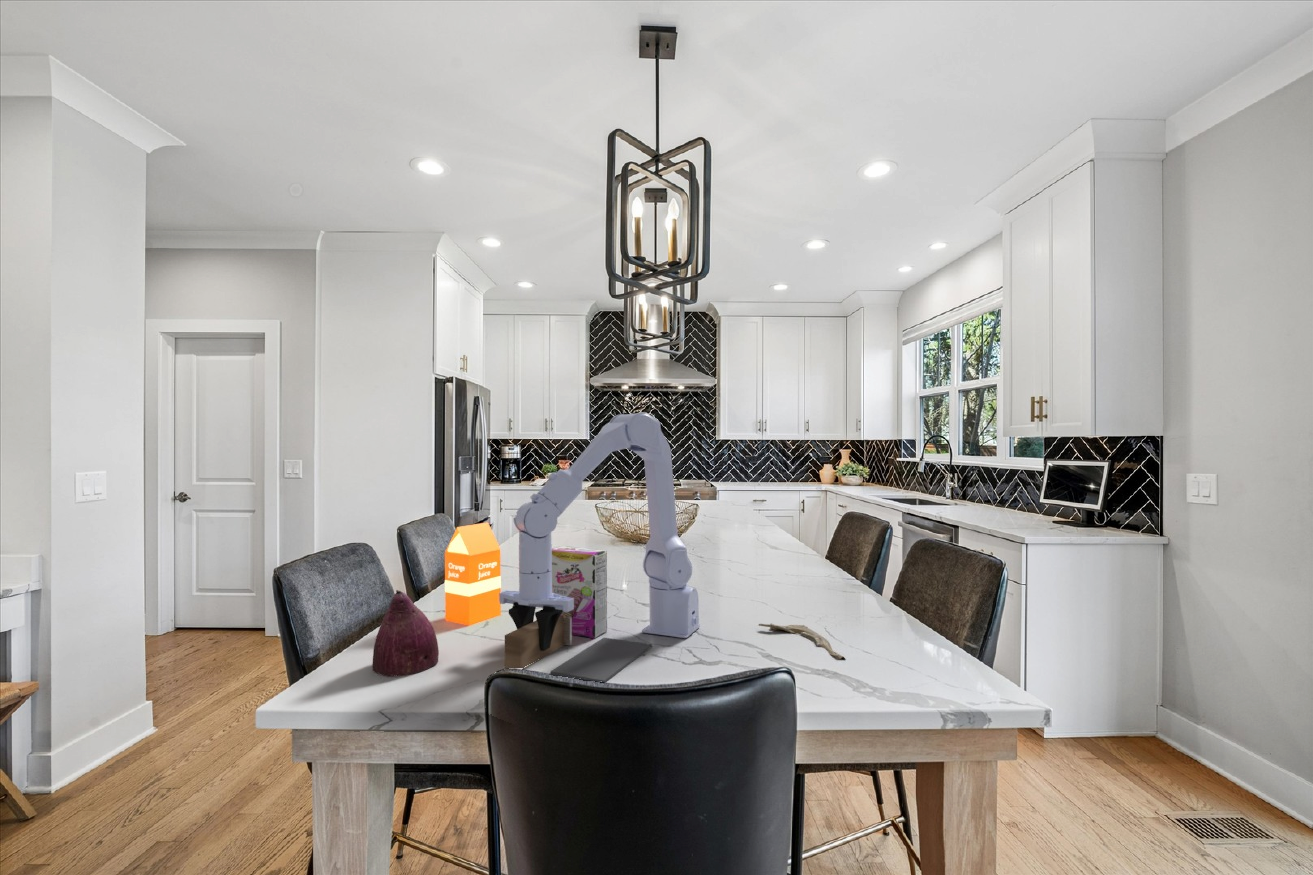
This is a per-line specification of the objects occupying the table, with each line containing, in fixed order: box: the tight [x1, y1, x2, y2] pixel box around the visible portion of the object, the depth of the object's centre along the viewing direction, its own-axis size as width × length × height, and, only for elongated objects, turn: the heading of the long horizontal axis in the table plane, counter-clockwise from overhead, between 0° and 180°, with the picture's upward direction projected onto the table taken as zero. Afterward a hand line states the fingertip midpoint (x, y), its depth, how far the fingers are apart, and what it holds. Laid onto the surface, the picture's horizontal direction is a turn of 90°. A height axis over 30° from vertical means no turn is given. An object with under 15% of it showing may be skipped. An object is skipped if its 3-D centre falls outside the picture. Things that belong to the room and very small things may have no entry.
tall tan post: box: [504, 616, 573, 670], centre depth 106 cm, size 14×6×6 cm, turn 156°
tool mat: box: [549, 637, 653, 683], centre depth 104 cm, size 10×18×1 cm, turn 156°
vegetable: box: [371, 589, 440, 678], centre depth 101 cm, size 10×10×15 cm
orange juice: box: [444, 522, 502, 626], centre depth 129 cm, size 8×9×20 cm
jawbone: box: [757, 623, 847, 661], centre depth 113 cm, size 9×20×2 cm, turn 35°
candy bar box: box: [552, 545, 608, 639], centre depth 119 cm, size 11×5×16 cm, turn 64°
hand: (536, 647), depth 106 cm, fingers closed on tall tan post, 3 cm apart
